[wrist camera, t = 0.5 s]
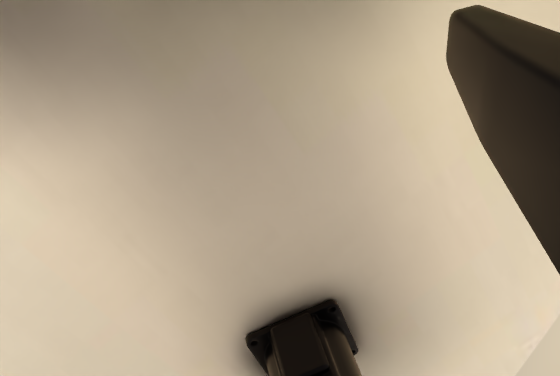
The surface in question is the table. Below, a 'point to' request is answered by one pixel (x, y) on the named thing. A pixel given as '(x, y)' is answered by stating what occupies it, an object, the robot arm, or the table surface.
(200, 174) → the table surface
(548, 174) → the robot arm
